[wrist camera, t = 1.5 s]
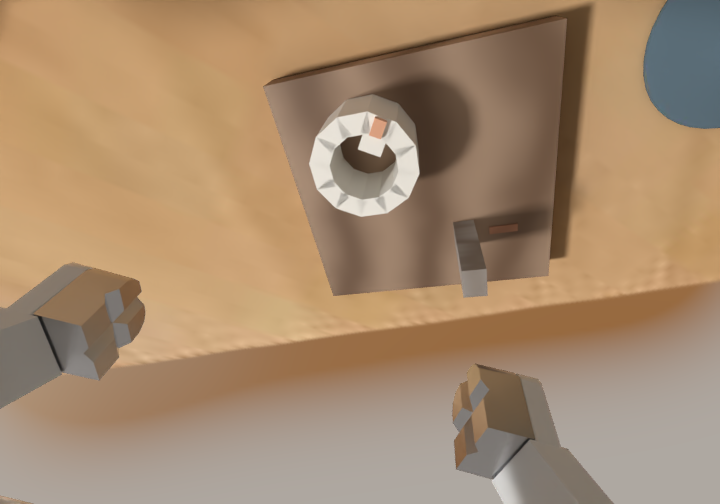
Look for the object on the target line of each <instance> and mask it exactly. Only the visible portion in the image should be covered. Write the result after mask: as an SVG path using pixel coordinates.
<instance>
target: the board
mask: <svg viewBox="0 0 720 504" xmlns="http://www.w3.org/2000/svg"><path fill="white" fill-rule="evenodd" d="M566 28H567V18H563V17H559V16H553V17H548V18H544V19H540V20H535V21H531V22H526V23H522V24H518V25H513V26H509V27H504V28H500V29H496V30H491V31H487V32H482V33H478V34H474V35H469V36H465V37H460V38H456V39H452V40H447V41H443V42H438V43H434V44H430V45H425V46H421V47H416V48H412V49H407V50H403V51H399V52H394V53H390V54H385V55H381V56H377V57H372V58H368V59H363V60H359V61H355V62H350V63H346V64H341V65H337V66H333V67H328V68H324V69H319V70H315V71H311V72H306V73H302V74H297V75H293V76H289V77H284V78H280V79H275V80H272V81H270V82H269V83H268V84H266V85H265V86H263V88H264V91H265V94H266V96H267V99H268V102H269V105H270V108H271V111H272V114H273V117H274V120H275V123H276V126H277V129H278V132H279V135H280V138H281V141H282V144H283V147H284V150H285V153H286V156H287V159H288V162H289V165H290V168H291V171H292V174H293V177H294V180H295V183H296V186H297V189H298V192H299V195H300V198H301V201H302V204H303V206H304V209H305V212H306V215H307V218H308V221H309V224H310V227H311V230H312V233H313V236H314V239H315V242H316V245H317V248H318V251H319V254H320V257H321V260H322V263H323V266H324V269H325V272H326V275H327V278H328V281H329V284H330V287H331V290H332V293H333V296H338V295H348V294H359V293H370V292H380V291H391V290H402V289H413V288H423V287H434V286H445V285H455V284H462V290H463V296H464V298H465V297H476V296H488V294H487V281H498V280H509V279H520V278H530V277H541V276H548V273H549V259H550V246H551V232H552V218H553V205H554V191H555V178H556V164H557V150H558V137H559V123H560V110H561V96H562V82H563V69H564V55H565V42H566ZM371 94H374V95H377V96H379V97H382V98H385V99H388V100H390V101H393V102H396V103H398V104H399V105H400V106H401V107H402V108H403V110H404V111H405V112H406V113H407V115H408V116H409V117H410V118H411V120H412V121H413V122H414V123H415V127H416V134H417V142H418V149H419V171H420V174H419V176H418V178H417V180H416V183H415V185H414V187H413V189H412V192H411V194H410V196H409V198H408V199H407V200H405V201H404V202H402V203H401V204H400V205H398V206H397V207H395V208H394V209H393V210H391V211H390V212H388V213H385V214H378V215H371V216H364V217H360V216H357V215H354V214H351V213H348V212H345V211H342V210H339V209H336V208H335V207H334V206H333V205H332V204H331V203H330V202H329V201H328V200H327V199H326V198H325V197H324V196H323V195H322V194H321V193H320V192H319V191H318V190H317V188H316V185H315V182H314V178H313V175H312V172H311V168H310V165H309V162H310V158H311V154H312V150H313V146H314V142H315V138H316V136H317V134H318V133H319V131H320V130H321V128H322V126H323V125H324V123H325V122H326V120H327V118H328V117H329V116H330V115H331V114H332V113H333V112H334V111H335V110H336V109H337V108H338V107H339V106H341V105H342V104H343V103H344V102H345V101H346V100H347V99H352V98H357V97H362V96H366V95H371ZM361 138H362V135H358V136H353V137H348V138H346V139H345V140H344V141H343V142H342V143H341V144H340V146H341V150H342V154H343V158H344V159H345V160H346V161H347V162H348V163H349V164H350V165H351V166H352V167H353V169H356V170H359V171H362V172H364V173H367V174H369V173H376V172H382V171H384V170H385V169H386V168H388V167H389V166H390V165H391V164H393V163H394V162H395V160H396V154H395V153H394V152H393V151H392V150H391V148H390V147H389V146H388V145H387V144H385V146H384V149H383V152H382V155H381V157H378V156H375V155H372V154H369V153H367V152H364V151H361V150H358V147H359V144H360V141H361Z"/></svg>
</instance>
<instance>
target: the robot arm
mask: <svg viewBox="0 0 720 504" xmlns="http://www.w3.org/2000/svg"><path fill="white" fill-rule="evenodd" d="M141 292H142V291H141V287H140V282H139V281H138V280H135V279H132V278H129V277H125V276H122V275H118V274H114V273H111V272H107V271H104V270H100V269H96V268H92V267H88V266H84V265H81V264H77V263H69V264H66V265H64V266H62V267H61V268H60V269H58V270H57V271H56V272H54V273H53V274H52V275H50V276H49V277H48V278H46V279H45V280H44V281H42V282H41V283H40V284H38V285H37V286H36V287H34V288H33V289H32V290H30V291H29V292H28V293H27V294H25V295H24V296H23V297H21V298H20V299H19V300H17V301H16V302H15V303H13V304H12V305H11V306H9V307H8V308H7V309H6V308H1V307H0V409H1V408H2V407H4V406H6V405H8V404H10V403H11V402H13V401H15V400H17V399H19V398H20V397H22V396H24V395H26V394H28V393H29V392H31V391H33V390H35V389H36V388H38V387H40V386H42V385H44V384H46V383H47V382H49V381H51V380H52V379H54V378H56V377H58V376H60V375H62V373H61V372H63V373H67V374H72V375H77V376H81V377H86V378H90V379H95V380H100V379H101V378H102V377H103V376H104V374H105V373H106V372H107V371H108V370H109V369H110V367H111V366H112V365H113V364H114V363H115V361H116V360H117V359H118V358H119V348H120V347H122V346H124V345H127V344H129V343H131V342H132V341H133V340H134V338H135V337H136V336H137V335H138V333H139V332H140V329H141V327H142V325H143V323H144V319H145V307H144V304H143V303H142V302H141V301H140V300H139V299H138V297H137V296H138V295H139V294H140V293H141ZM467 378H468V381H466V382H464V383H461V384H460V385H459V387H458V389H457V391H456V393H455V397H454V401H453V410H452V416H453V424H454V425H455V427H456V428H457V430H458V431H459V434H458V435H457V437H456V439H455V440H454V448H455V461H456V469H457V470H460V471H464V472H467V473H471V474H475V475H478V476H482V477H485V478H489V479H493V480H492V483H493V485H494V487H495V488H496V490H497V492H498V494H499V496H500V498H501V500H502V501H503V503H504V504H613V502H612V501H611V500H610V499H609V498H608V496H607V495H606V494H605V493H604V492H603V490H602V489H601V488H600V487H599V486H598V484H597V483H596V482H595V481H594V480H593V479H592V477H591V476H590V475H589V474H588V473H587V471H586V470H585V469H584V468H583V467H582V465H581V464H580V463H579V462H578V461H577V459H576V458H575V457H574V456H573V455H572V454H571V452H570V451H569V450H568V449H566V448H563V447H561V446H560V443H559V439H558V436H557V432H556V429H555V426H554V423H553V419H552V416H551V413H550V410H549V406H548V403H547V400H546V397H545V393H544V390H543V387H542V384H541V382H540V381H539V380H538V379H536V378H532V377H527V376H524V375H519V374H515V373H512V372H508V371H504V370H499V369H495V368H491V367H486V366H483V365H478V364H474V365H472V366H471V367H470V369H469V370H468V372H467ZM0 504H32V503H28V502H24V501H20V500H16V499H12V498H8V497H4V496H0Z"/></svg>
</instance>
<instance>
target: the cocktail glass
mask: <svg viewBox="0 0 720 504" xmlns="http://www.w3.org/2000/svg"><path fill="white" fill-rule="evenodd" d="M643 76H644V81H645V87H646V91H647V93H648V95H649V98H650V100H651V102H652V103H653V104H654V106H655V107H656V108H657V110H658V111H660V112H661V113H662V114H663V115H664V116H666V117H667V118H668V119H670V120H672V121H674V122H676V123H678V124H681V125H684V126H688V127H693V128H703V129H707V128H720V0H667V2H666V3H665V5H664V7H663V8H662V10H661V11H660V13H659V15H658V17H657V20H656V22H655V24H654V26H653V28H652V30H651V33H650V36H649V39H648V42H647V46H646V51H645V56H644V72H643Z"/></svg>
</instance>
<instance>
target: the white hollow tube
mask: <svg viewBox="0 0 720 504" xmlns="http://www.w3.org/2000/svg"><path fill="white" fill-rule="evenodd" d="M358 135H362V138H361V141H360V144H359V147H358V150H361V151H364V152H367V153H369V154H372V155H375V156H378V157H381V155H382V152H383V149H384V146H385V144H387V145H388V146H389V147H390V148H391V150H392V151H393V152H394V153H395V154H396V160H395V162H394V163H393V164H391V165H390V166H389V167H388V168H386V169H385V170H384V171H382V172H376V173H369V174H367V173H364V172H362V171H359V170H356V169H353V167H352V166H351V165H350V164H349V163H348V162H347V161H346V160H345V159H344V158H343V154H342V150H341V146H340V144H341V143H342V142H343V141H344V140H345V139H346V138H348V137H353V136H358ZM309 165H310V168H311V172H312V175H313V178H314V182H315V185H316V188H317V190H318V191H319V192H320V193H321V194H322V195H323V196H324V197H325V198H326V199H327V200H328V201H329V202H330V203H331V204H332V205H333V206H334V207H335V208H336V209H339V210H342V211H345V212H348V213H351V214H354V215H357V216H360V217H364V216H371V215H378V214H385V213H388V212H390V211H391V210H393V209H394V208H395V207H397V206H398V205H400V204H401V203H402V202H404V201H405V200H407V199H408V198H409V196H410V194H411V192H412V189H413V187H414V185H415V183H416V180H417V178H418V176H419V174H420V171H419V149H418V142H417V134H416V127H415V123H414V122H413V121H412V120H411V118H410V117H409V116H408V115H407V113H406V112H405V111H404V110H403V108H402V107H401V106H400V105H399V104H398V103H396V102H393V101H390V100H388V99H385V98H382V97H379V96H377V95H374V94H371V95H366V96H362V97H357V98H352V99H347V100H346V101H345V102H344V103H343V104H342V105H341V106H339V107H338V108H337V109H336V110H335V111H334V112H333V113H332V114H331V115H330V116H329V117H328V118H327V120H326V122H325V123H324V125H323V126H322V128H321V130H320V131H319V133H318V134H317V136H316V138H315V142H314V146H313V150H312V154H311V158H310V162H309Z"/></svg>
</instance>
